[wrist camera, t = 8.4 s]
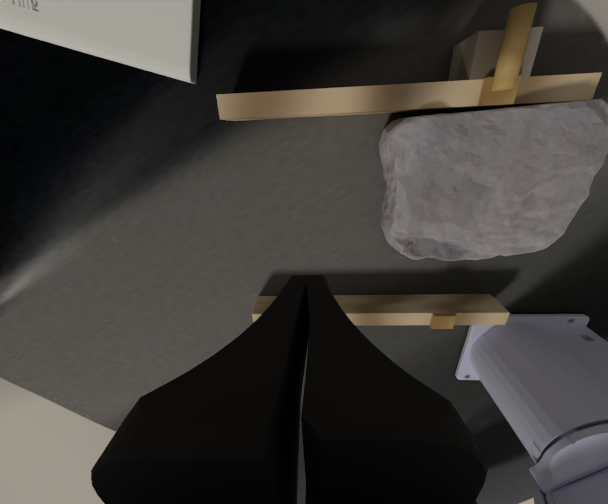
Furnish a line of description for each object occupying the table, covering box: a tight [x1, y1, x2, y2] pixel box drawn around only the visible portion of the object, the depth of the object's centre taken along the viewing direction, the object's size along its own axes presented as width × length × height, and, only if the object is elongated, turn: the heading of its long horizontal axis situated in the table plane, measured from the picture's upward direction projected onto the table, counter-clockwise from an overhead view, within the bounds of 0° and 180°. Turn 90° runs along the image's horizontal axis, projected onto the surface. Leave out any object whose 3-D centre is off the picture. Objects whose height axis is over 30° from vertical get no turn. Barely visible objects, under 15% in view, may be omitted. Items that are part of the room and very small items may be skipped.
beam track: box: [216, 3, 602, 329], centre depth 17 cm, size 20×19×4 cm
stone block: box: [378, 99, 608, 261], centre depth 17 cm, size 12×5×10 cm
